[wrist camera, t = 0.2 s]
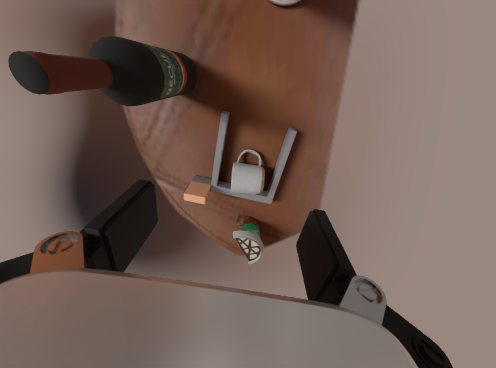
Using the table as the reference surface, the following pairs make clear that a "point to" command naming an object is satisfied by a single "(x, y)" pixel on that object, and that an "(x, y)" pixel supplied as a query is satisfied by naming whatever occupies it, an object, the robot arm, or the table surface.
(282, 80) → the table surface
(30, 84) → the wine bottle
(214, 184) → the pull frame
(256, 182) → the ceramic mug
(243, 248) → the food container
